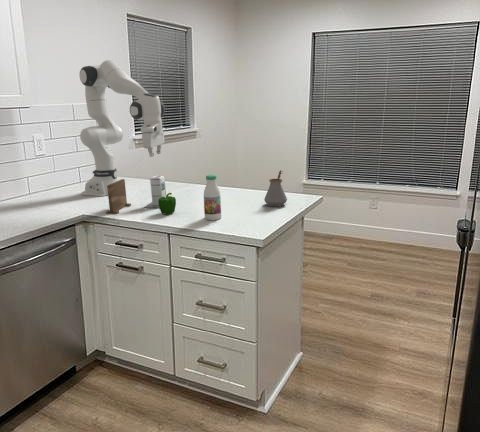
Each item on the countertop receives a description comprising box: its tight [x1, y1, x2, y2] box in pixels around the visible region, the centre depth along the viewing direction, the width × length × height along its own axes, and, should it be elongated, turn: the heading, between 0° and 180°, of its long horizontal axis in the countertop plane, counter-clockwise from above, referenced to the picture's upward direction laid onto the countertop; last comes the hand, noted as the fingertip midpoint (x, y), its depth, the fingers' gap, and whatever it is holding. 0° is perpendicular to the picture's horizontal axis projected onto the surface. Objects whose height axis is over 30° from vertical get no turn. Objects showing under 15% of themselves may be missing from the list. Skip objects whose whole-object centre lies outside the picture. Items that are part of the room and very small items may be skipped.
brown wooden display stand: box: [105, 178, 132, 215], centre depth 227 cm, size 6×16×14 cm, turn 169°
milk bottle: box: [203, 174, 222, 221], centre depth 206 cm, size 8×8×20 cm
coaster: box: [144, 201, 160, 209], centre depth 235 cm, size 12×12×1 cm
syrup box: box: [149, 175, 167, 205], centre depth 233 cm, size 6×6×14 cm
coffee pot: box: [263, 170, 288, 208], centre depth 232 cm, size 21×12×15 cm, turn 165°
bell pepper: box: [158, 192, 177, 216], centre depth 217 cm, size 8×8×10 cm
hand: (155, 155), depth 228 cm, fingers open, 8 cm apart
